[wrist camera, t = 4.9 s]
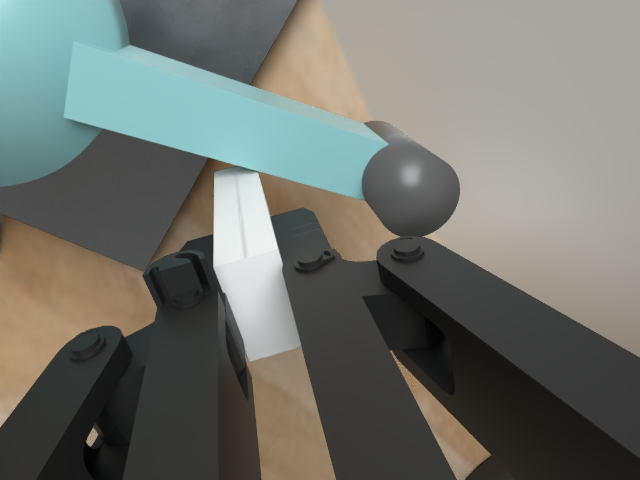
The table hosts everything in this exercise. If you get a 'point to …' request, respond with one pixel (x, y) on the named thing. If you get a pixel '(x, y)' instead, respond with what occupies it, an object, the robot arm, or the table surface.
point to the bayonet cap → (192, 116)
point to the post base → (141, 155)
